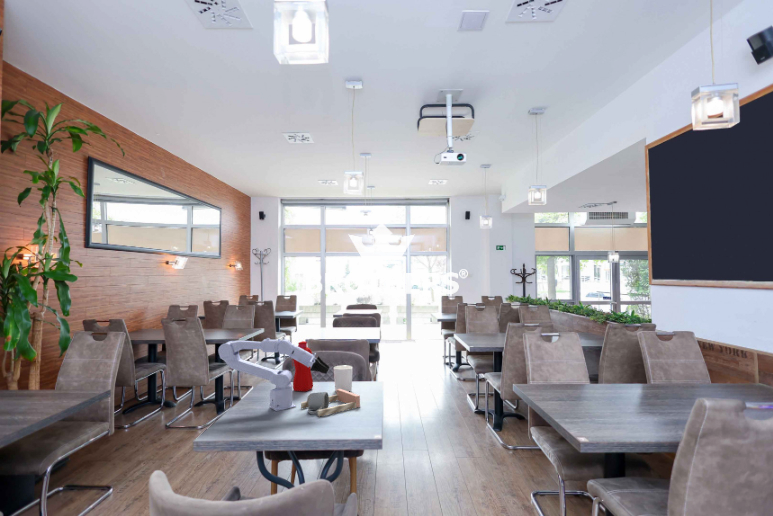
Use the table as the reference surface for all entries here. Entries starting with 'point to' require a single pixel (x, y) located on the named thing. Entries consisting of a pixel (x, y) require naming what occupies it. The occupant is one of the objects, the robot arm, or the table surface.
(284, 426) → the table surface
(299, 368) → the water bottle
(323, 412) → the rails
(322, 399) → the ceramic mug
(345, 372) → the candle holder
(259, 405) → the table surface
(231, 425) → the table surface
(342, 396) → the end stop
